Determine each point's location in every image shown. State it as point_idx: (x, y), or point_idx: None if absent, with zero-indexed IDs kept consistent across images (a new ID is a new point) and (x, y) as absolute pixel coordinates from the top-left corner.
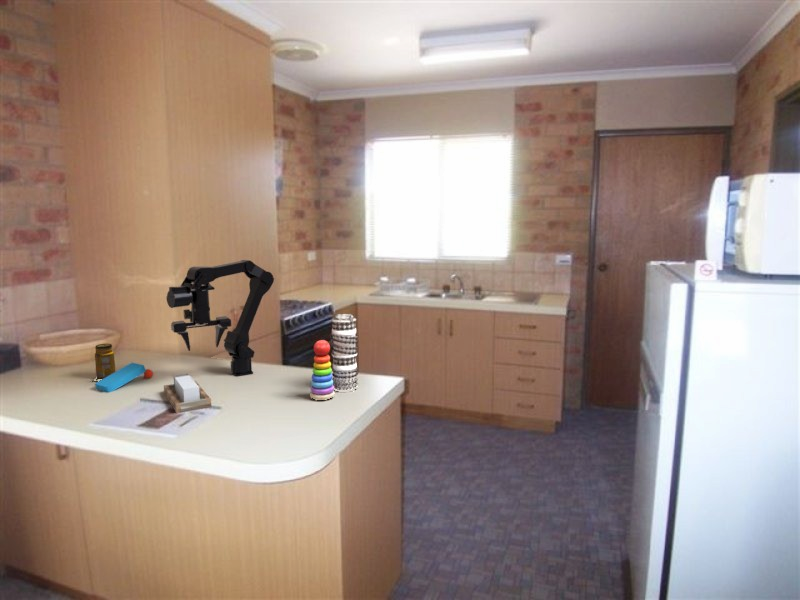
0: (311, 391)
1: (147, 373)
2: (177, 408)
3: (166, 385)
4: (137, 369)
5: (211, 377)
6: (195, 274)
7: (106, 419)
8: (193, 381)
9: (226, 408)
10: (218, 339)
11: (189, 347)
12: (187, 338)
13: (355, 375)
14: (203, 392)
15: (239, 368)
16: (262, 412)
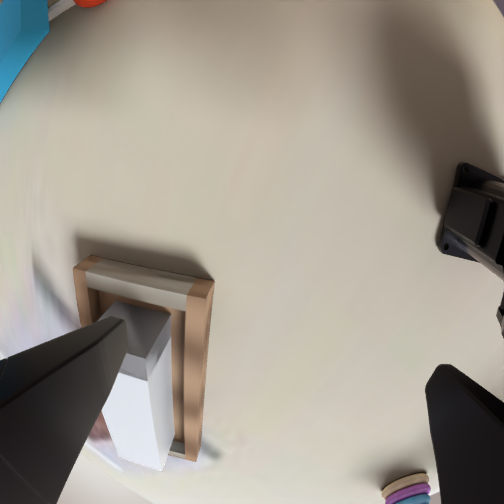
0: (390, 496)
1: (80, 2)
2: None
3: (81, 276)
4: (6, 55)
5: (350, 167)
6: None
7: (4, 341)
8: (153, 440)
9: (228, 463)
10: (445, 476)
11: (106, 387)
12: (44, 491)
13: None
14: (191, 427)
15: (474, 254)
16: (277, 494)
